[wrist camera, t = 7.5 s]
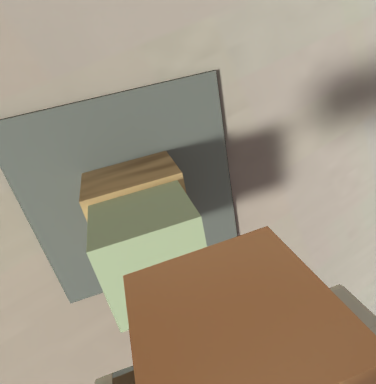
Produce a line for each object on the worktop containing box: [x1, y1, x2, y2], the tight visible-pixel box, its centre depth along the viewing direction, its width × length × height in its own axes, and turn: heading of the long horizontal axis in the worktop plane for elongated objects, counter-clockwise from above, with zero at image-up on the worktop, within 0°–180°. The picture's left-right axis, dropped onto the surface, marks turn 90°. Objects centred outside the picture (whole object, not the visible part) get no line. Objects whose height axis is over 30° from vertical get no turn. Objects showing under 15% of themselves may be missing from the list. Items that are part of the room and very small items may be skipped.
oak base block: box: [79, 151, 187, 221], centre depth 27 cm, size 8×8×6 cm
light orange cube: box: [123, 226, 376, 384], centre depth 9 cm, size 5×5×5 cm
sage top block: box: [86, 180, 207, 333], centre depth 22 cm, size 7×7×6 cm
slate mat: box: [0, 70, 237, 303], centre depth 30 cm, size 20×20×1 cm
